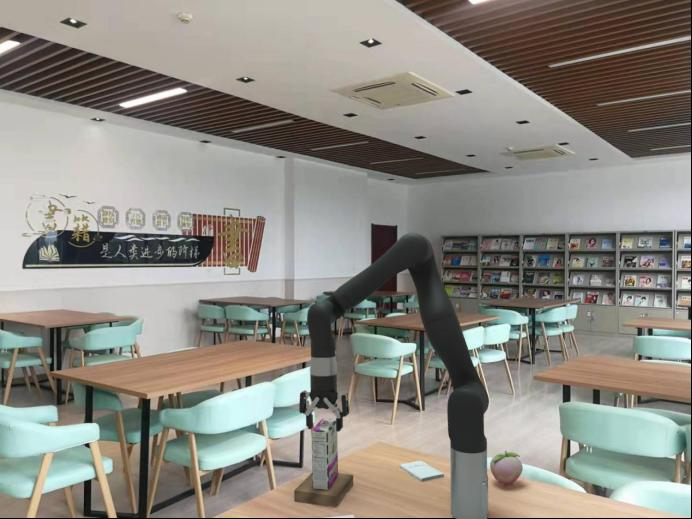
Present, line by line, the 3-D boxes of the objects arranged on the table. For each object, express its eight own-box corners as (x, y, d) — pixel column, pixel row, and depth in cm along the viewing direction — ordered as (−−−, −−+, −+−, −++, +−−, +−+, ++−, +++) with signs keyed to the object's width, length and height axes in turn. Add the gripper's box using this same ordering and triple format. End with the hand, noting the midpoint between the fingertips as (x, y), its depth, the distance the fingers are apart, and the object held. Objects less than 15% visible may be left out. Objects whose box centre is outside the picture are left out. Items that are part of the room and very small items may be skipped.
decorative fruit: (506, 476, 163) (505, 443, 163) (527, 486, 156) (527, 451, 156) (483, 483, 158) (482, 449, 158) (504, 493, 151) (504, 457, 151)
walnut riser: (353, 485, 157) (353, 474, 157) (335, 507, 143) (335, 496, 143) (315, 479, 161) (315, 469, 161) (294, 501, 147) (294, 490, 147)
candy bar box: (321, 473, 158) (321, 417, 158) (338, 475, 157) (338, 418, 157) (311, 489, 147) (310, 429, 147) (328, 491, 146) (328, 430, 146)
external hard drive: (421, 484, 160) (399, 469, 171) (444, 478, 163) (421, 464, 174) (421, 478, 160) (399, 464, 171) (444, 473, 163) (421, 459, 174)
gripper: (351, 370, 154) (352, 427, 154) (305, 368, 158) (306, 423, 158) (342, 376, 147) (343, 436, 146) (294, 373, 151) (295, 431, 151)
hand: (324, 429), depth 152 cm, fingers open, 8 cm apart
